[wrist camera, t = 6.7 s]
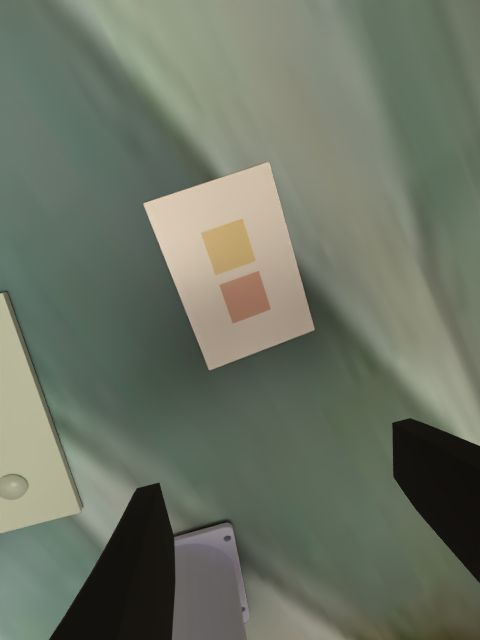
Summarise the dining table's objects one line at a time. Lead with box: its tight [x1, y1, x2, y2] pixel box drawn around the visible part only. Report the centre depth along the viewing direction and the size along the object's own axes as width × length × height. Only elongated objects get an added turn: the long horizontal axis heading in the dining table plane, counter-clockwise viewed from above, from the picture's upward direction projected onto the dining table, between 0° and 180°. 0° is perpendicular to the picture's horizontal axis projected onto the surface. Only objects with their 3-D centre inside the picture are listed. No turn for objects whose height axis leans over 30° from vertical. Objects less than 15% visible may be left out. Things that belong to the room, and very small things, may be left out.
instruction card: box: [143, 162, 315, 371], centre depth 18 cm, size 10×7×1 cm
